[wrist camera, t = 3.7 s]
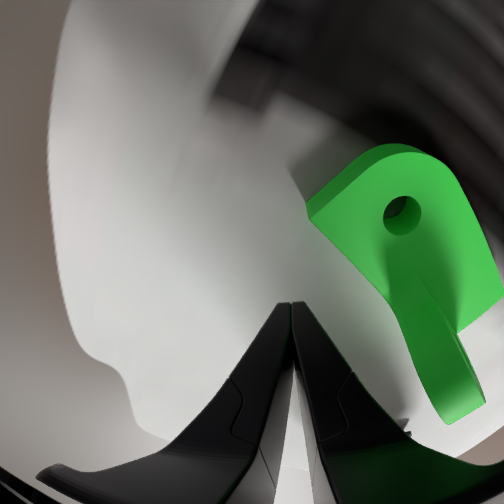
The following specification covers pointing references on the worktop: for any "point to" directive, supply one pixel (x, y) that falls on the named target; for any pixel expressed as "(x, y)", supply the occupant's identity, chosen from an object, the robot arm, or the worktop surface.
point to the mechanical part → (416, 260)
